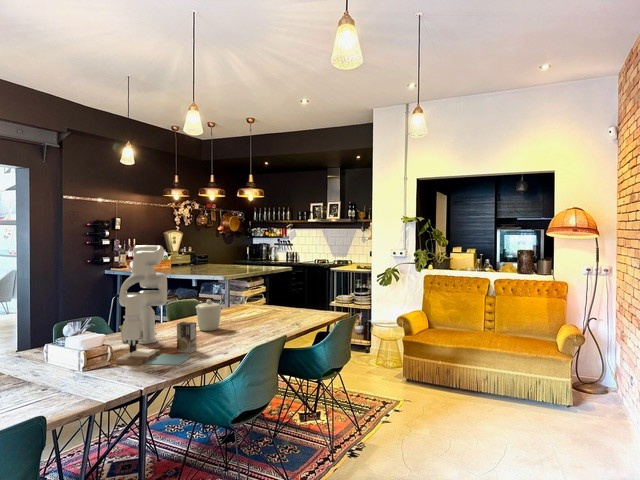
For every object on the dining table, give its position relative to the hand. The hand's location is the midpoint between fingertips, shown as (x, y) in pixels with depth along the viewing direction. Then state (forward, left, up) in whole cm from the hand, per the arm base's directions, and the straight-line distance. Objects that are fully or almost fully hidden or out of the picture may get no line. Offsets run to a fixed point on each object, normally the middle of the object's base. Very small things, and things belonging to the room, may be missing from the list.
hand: (132, 352), depth 232 cm
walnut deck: (0, +3, -3) cm, 5 cm away
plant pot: (-39, -25, -4) cm, 46 cm away
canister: (-74, +15, -4) cm, 76 cm away
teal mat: (0, +20, -3) cm, 20 cm away
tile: (0, +6, -1) cm, 6 cm away
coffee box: (-18, +22, -4) cm, 29 cm away
